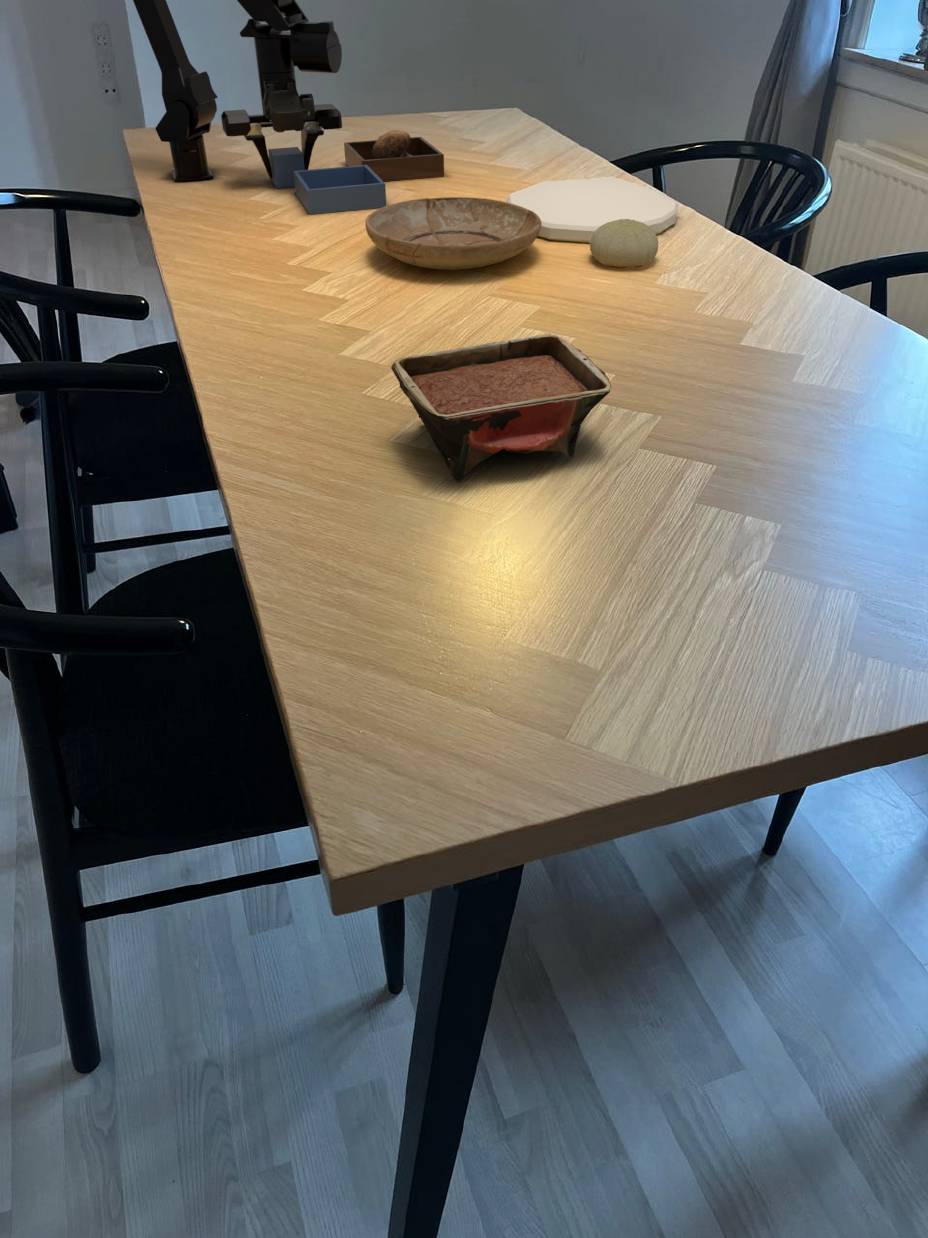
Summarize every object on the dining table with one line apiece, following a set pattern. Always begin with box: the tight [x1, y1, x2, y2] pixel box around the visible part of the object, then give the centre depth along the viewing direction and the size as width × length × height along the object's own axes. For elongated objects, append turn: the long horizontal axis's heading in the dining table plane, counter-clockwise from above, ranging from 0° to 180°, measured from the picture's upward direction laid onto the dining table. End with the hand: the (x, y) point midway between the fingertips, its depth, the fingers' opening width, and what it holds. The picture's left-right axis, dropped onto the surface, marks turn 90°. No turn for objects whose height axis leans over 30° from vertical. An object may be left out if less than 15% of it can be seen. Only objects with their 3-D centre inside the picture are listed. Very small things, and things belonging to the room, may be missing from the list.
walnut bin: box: [343, 136, 445, 183], centre depth 165 cm, size 14×14×4 cm
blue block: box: [267, 146, 305, 189], centre depth 157 cm, size 5×5×5 cm
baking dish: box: [390, 333, 612, 483], centre depth 85 cm, size 14×18×10 cm
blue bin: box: [293, 165, 387, 215], centre depth 150 cm, size 12×12×4 cm
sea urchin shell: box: [589, 219, 659, 268], centre depth 126 cm, size 9×8×8 cm
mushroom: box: [372, 129, 412, 159], centre depth 164 cm, size 8×8×6 cm
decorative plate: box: [506, 175, 679, 244], centre depth 141 cm, size 25×4×25 cm
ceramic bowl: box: [364, 196, 541, 271], centre depth 127 cm, size 23×24×5 cm
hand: (288, 176), depth 158 cm, fingers open, 5 cm apart
